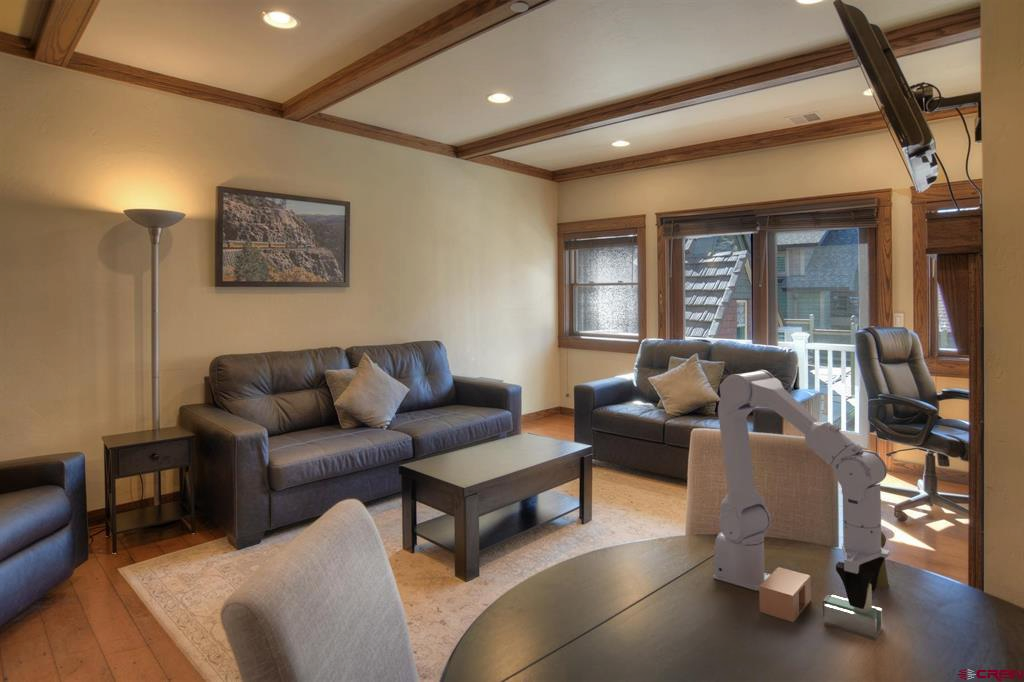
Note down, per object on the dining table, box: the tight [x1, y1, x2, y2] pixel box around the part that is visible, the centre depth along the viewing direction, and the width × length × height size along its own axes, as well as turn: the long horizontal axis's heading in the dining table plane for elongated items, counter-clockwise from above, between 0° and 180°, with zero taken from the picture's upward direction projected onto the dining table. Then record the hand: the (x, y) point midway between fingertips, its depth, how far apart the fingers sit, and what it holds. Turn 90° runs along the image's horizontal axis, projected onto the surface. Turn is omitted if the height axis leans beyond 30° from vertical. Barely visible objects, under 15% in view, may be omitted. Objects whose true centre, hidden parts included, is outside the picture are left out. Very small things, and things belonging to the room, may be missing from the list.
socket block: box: [758, 566, 812, 623], centre depth 113 cm, size 6×10×5 cm, turn 136°
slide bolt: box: [822, 584, 877, 618], centre depth 105 cm, size 8×3×7 cm, turn 46°
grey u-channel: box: [823, 594, 883, 641], centre depth 105 cm, size 8×5×4 cm, turn 46°
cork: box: [875, 531, 889, 590], centre depth 120 cm, size 6×6×11 cm
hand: (862, 597), depth 104 cm, fingers open, 7 cm apart
